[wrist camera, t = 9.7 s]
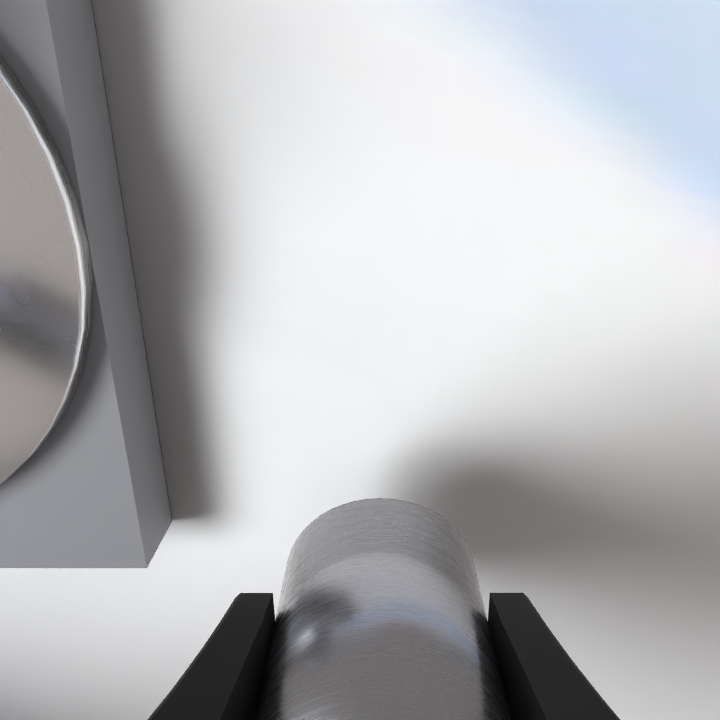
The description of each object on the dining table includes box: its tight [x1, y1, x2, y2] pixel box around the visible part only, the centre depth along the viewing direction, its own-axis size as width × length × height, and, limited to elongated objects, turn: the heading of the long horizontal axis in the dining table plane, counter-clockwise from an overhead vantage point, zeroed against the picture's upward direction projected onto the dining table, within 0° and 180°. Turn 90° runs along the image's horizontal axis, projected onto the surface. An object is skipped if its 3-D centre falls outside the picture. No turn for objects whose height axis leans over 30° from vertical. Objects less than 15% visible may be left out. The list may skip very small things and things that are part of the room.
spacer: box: [255, 498, 511, 720], centre depth 10 cm, size 4×4×5 cm
